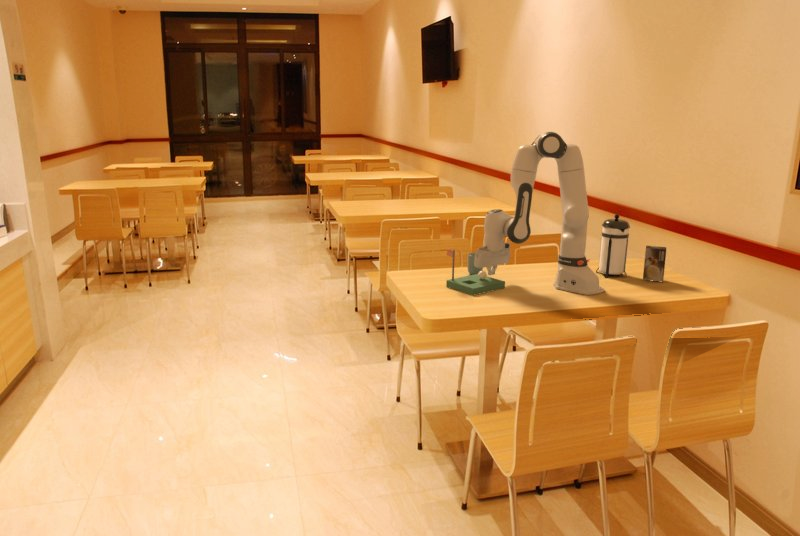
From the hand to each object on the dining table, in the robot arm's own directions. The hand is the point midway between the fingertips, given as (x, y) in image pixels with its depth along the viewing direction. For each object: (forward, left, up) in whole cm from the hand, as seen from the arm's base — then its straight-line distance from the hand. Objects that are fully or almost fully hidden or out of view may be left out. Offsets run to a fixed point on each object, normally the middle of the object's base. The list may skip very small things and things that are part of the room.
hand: (491, 274), depth 283 cm
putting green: (+1, +10, -4) cm, 11 cm away
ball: (0, +6, +1) cm, 6 cm away
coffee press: (-22, -61, -5) cm, 65 cm away
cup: (+16, -6, -5) cm, 18 cm away
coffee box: (-41, -68, -5) cm, 79 cm away
